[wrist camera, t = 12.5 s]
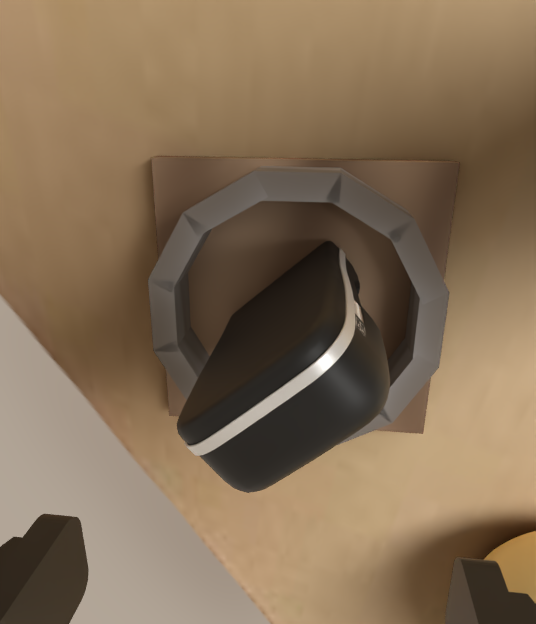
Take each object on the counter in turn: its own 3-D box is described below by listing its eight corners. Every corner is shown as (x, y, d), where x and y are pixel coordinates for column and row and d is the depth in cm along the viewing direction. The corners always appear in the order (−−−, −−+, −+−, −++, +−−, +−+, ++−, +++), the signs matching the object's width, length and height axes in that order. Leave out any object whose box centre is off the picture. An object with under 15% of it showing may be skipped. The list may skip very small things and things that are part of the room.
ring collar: (454, 160, 23) (474, 167, 20) (419, 423, 28) (431, 462, 25) (158, 156, 25) (131, 161, 22) (174, 406, 30) (155, 441, 26)
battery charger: (273, 370, 27) (236, 531, 16) (226, 317, 26) (154, 450, 16) (382, 292, 25) (420, 420, 14) (333, 232, 24) (335, 320, 13)
